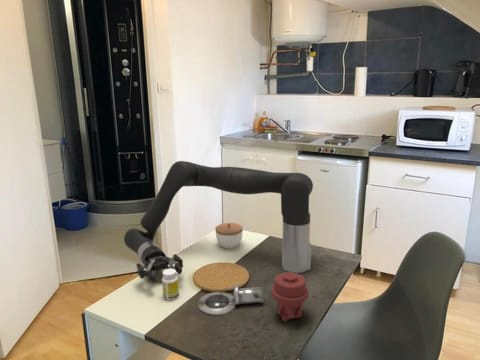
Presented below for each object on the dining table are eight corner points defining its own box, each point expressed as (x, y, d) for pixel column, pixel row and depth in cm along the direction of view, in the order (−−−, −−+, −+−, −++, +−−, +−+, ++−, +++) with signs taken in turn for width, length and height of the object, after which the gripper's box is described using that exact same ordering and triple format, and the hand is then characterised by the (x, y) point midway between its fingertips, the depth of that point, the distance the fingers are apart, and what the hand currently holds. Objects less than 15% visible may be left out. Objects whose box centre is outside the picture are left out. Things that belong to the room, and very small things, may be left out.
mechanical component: (271, 304, 114) (306, 306, 113) (271, 325, 104) (308, 327, 103) (272, 266, 111) (307, 267, 110) (271, 284, 101) (310, 286, 100)
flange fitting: (260, 291, 121) (259, 275, 119) (265, 312, 110) (265, 294, 109) (198, 295, 119) (198, 279, 118) (198, 316, 109) (197, 298, 107)
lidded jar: (248, 245, 155) (248, 223, 152) (229, 254, 147) (228, 231, 145) (229, 238, 162) (228, 217, 160) (210, 246, 154) (209, 224, 152)
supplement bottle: (181, 293, 121) (180, 269, 119) (174, 301, 116) (172, 276, 114) (168, 291, 122) (166, 267, 120) (160, 299, 118) (158, 274, 116)
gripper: (129, 250, 130) (143, 270, 116) (170, 241, 136) (187, 258, 123) (131, 270, 131) (145, 292, 118) (171, 260, 138) (189, 279, 124)
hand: (167, 275), depth 120 cm, fingers open, 8 cm apart
